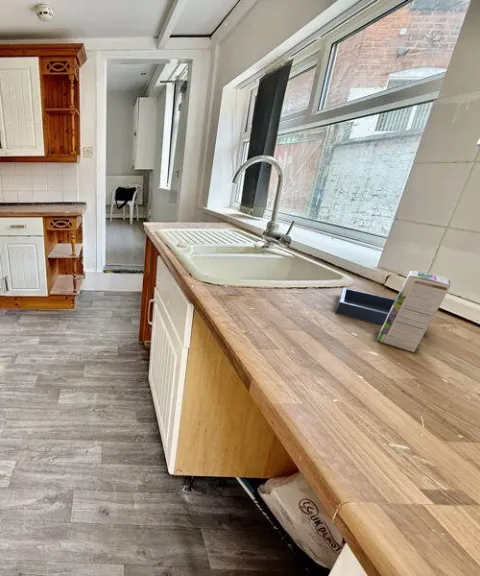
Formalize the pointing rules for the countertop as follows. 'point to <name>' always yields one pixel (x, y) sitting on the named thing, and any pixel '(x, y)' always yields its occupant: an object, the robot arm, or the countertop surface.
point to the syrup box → (414, 310)
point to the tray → (364, 306)
